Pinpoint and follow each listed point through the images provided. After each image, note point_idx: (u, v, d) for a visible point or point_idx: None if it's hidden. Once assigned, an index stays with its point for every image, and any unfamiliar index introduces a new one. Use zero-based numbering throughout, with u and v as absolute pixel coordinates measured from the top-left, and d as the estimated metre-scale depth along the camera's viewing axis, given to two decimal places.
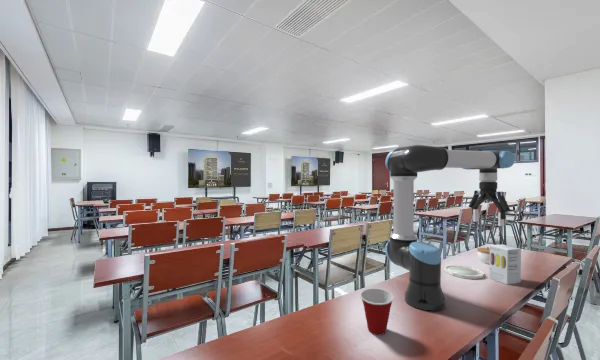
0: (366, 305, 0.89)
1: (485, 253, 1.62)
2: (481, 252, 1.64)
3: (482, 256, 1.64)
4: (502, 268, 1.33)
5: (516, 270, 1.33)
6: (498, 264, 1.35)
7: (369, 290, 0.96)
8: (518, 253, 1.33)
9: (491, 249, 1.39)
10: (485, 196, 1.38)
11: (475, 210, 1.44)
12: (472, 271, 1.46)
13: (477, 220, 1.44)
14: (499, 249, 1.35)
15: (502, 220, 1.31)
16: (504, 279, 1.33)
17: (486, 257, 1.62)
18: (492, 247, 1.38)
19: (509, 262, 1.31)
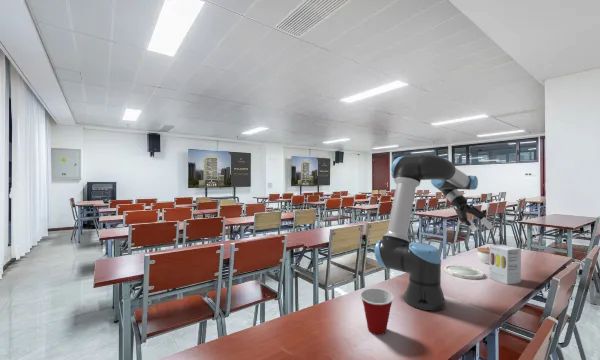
0: (366, 305, 0.89)
1: (485, 253, 1.62)
2: (481, 252, 1.64)
3: (482, 256, 1.64)
4: (502, 268, 1.33)
5: (516, 270, 1.33)
6: (498, 264, 1.35)
7: (369, 290, 0.96)
8: (518, 253, 1.33)
9: (491, 249, 1.39)
10: (466, 208, 1.54)
11: None
12: (472, 271, 1.46)
13: None
14: (499, 249, 1.35)
15: None
16: (504, 279, 1.33)
17: (486, 257, 1.62)
18: (492, 247, 1.38)
19: (509, 262, 1.31)
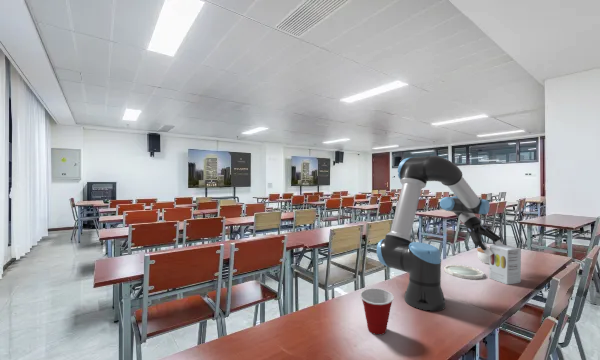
0: (366, 305, 0.89)
1: (485, 253, 1.62)
2: (481, 252, 1.64)
3: (482, 256, 1.64)
4: (502, 268, 1.33)
5: (516, 270, 1.33)
6: (498, 264, 1.35)
7: (369, 290, 0.96)
8: (518, 253, 1.33)
9: (491, 249, 1.39)
10: (480, 230, 1.48)
11: None
12: (472, 271, 1.46)
13: None
14: (499, 249, 1.35)
15: None
16: (504, 279, 1.33)
17: (486, 257, 1.62)
18: (492, 247, 1.38)
19: (509, 262, 1.31)
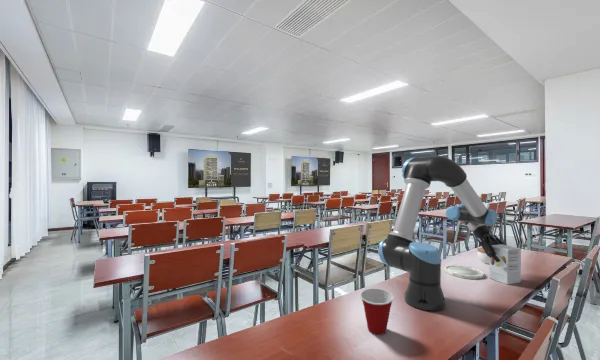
0: (366, 305, 0.89)
1: (485, 253, 1.62)
2: (481, 252, 1.64)
3: (482, 256, 1.64)
4: None
5: (516, 270, 1.33)
6: (498, 264, 1.35)
7: (369, 290, 0.96)
8: (518, 253, 1.33)
9: None
10: (490, 239, 1.42)
11: None
12: (472, 271, 1.46)
13: None
14: (499, 249, 1.35)
15: None
16: (504, 279, 1.33)
17: (486, 257, 1.62)
18: None
19: (509, 262, 1.31)
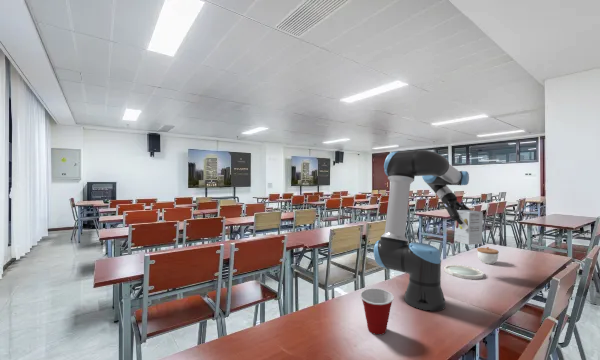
0: (366, 305, 0.89)
1: (485, 253, 1.62)
2: (481, 252, 1.64)
3: (482, 256, 1.64)
4: None
5: (477, 232, 1.42)
6: None
7: (369, 290, 0.96)
8: (480, 216, 1.42)
9: None
10: (456, 205, 1.52)
11: None
12: (472, 271, 1.46)
13: None
14: (462, 212, 1.44)
15: None
16: (466, 240, 1.42)
17: (486, 257, 1.62)
18: (457, 211, 1.47)
19: (471, 224, 1.41)
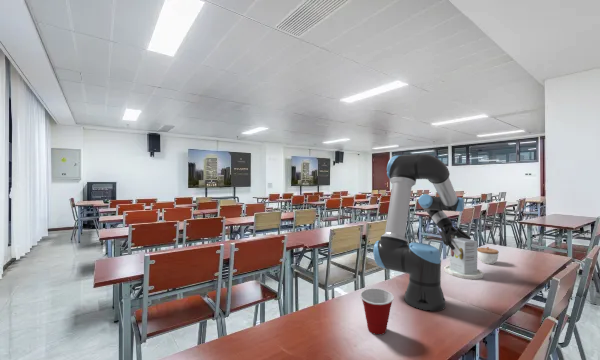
0: (366, 305, 0.89)
1: (485, 253, 1.62)
2: (481, 252, 1.64)
3: (482, 256, 1.64)
4: (460, 259, 1.44)
5: (472, 261, 1.43)
6: None
7: (369, 290, 0.96)
8: (475, 245, 1.44)
9: (451, 242, 1.49)
10: (451, 230, 1.53)
11: None
12: None
13: None
14: (458, 242, 1.45)
15: None
16: (461, 270, 1.43)
17: (486, 257, 1.62)
18: (452, 240, 1.49)
19: (466, 253, 1.42)
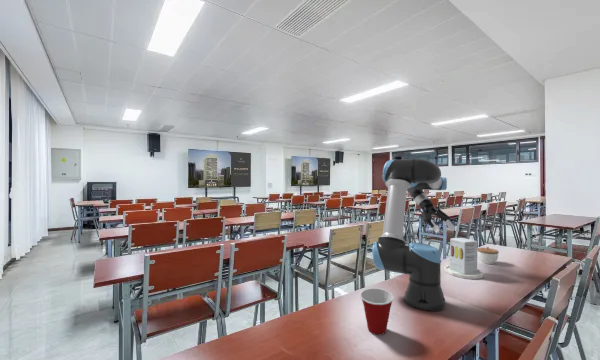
0: (366, 305, 0.89)
1: (485, 253, 1.62)
2: (481, 252, 1.64)
3: (482, 256, 1.64)
4: (460, 259, 1.44)
5: (472, 261, 1.43)
6: (457, 255, 1.46)
7: (369, 290, 0.96)
8: (475, 245, 1.44)
9: (451, 242, 1.49)
10: (431, 210, 1.64)
11: None
12: None
13: None
14: (458, 242, 1.45)
15: None
16: (461, 270, 1.43)
17: (486, 257, 1.62)
18: (452, 240, 1.49)
19: (466, 253, 1.42)
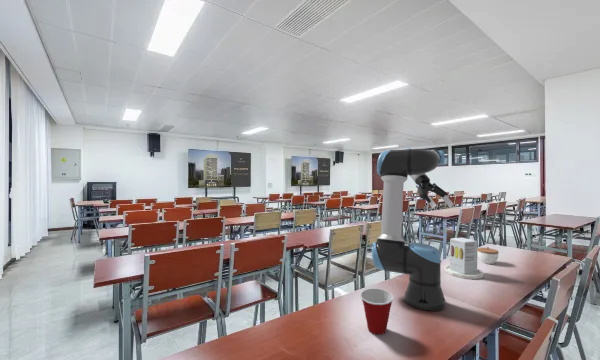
0: (366, 305, 0.89)
1: (485, 253, 1.62)
2: (481, 252, 1.64)
3: (482, 256, 1.64)
4: (460, 259, 1.44)
5: (472, 261, 1.43)
6: (457, 255, 1.46)
7: (369, 290, 0.96)
8: (475, 245, 1.44)
9: (451, 242, 1.49)
10: (428, 186, 1.56)
11: None
12: None
13: None
14: (458, 242, 1.45)
15: None
16: (461, 270, 1.43)
17: (486, 257, 1.62)
18: (452, 240, 1.49)
19: (466, 253, 1.42)
